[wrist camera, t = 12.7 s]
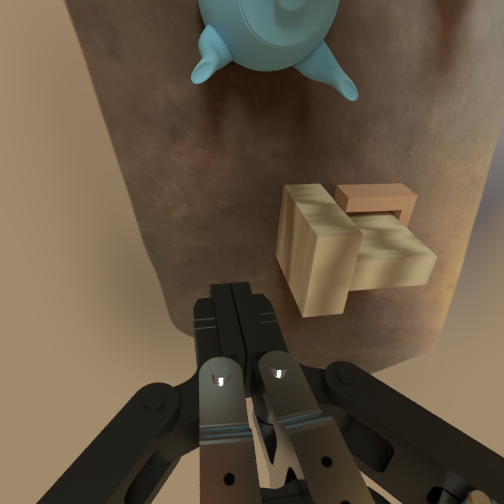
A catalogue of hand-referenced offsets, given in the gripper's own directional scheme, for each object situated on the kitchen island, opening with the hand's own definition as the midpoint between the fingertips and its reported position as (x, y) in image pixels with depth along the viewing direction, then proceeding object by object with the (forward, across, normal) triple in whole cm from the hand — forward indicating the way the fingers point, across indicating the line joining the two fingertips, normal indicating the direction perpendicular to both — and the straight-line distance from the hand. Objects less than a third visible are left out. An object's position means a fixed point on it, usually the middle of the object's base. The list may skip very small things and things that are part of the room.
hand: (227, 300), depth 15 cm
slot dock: (+32, -24, +15) cm, 42 cm away
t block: (+32, -20, +15) cm, 40 cm away
